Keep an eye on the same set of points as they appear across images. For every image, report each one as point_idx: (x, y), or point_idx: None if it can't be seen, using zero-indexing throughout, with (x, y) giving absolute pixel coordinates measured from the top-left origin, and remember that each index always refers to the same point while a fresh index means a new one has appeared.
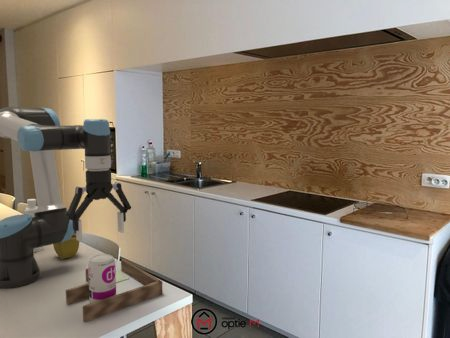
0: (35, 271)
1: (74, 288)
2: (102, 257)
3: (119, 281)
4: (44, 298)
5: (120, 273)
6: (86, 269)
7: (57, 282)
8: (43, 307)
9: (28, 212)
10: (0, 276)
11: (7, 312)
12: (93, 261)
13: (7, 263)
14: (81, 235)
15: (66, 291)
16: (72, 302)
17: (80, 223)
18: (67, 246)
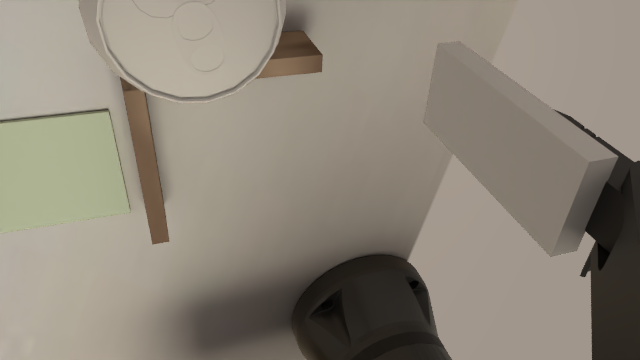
0: (321, 312)
1: (285, 62)
2: (178, 41)
3: (10, 121)
4: (347, 134)
5: None
6: (166, 235)
7: (265, 237)
8: (378, 64)
9: None
10: (428, 298)
11: None
12: (265, 2)
13: (430, 331)
14: (476, 68)
15: (320, 59)
16: (282, 32)
17: (571, 138)
18: None
